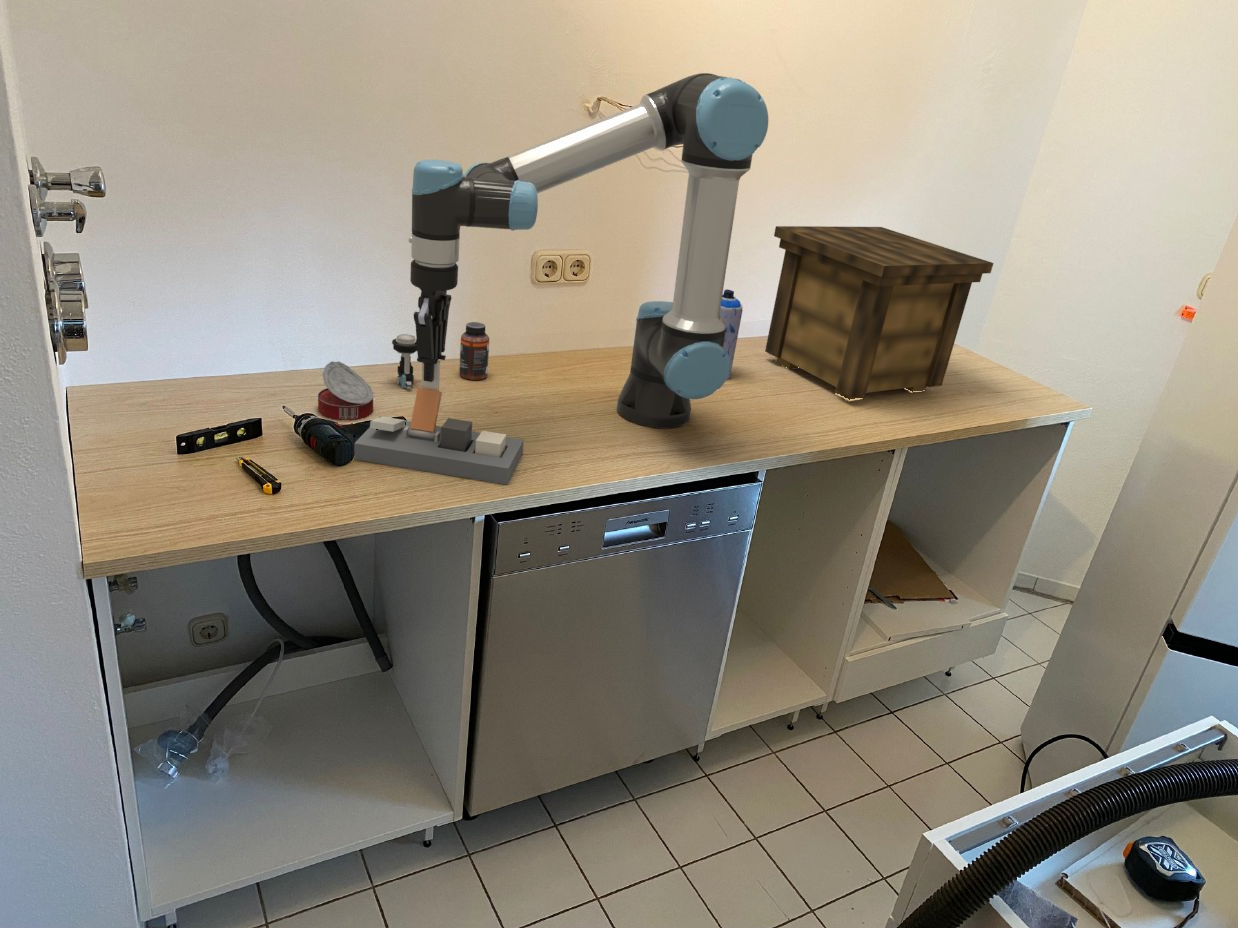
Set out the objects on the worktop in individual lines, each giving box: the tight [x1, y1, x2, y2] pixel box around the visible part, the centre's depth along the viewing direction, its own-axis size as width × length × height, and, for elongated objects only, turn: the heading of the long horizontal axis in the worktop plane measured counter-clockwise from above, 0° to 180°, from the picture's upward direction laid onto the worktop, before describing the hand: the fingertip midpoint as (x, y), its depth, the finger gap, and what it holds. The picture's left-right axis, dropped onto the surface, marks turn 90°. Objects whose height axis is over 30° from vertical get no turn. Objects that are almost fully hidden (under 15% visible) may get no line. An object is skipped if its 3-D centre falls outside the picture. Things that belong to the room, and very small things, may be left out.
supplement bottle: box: [458, 321, 490, 381], centre depth 190 cm, size 6×6×11 cm
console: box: [353, 416, 525, 485], centre depth 155 cm, size 26×12×4 cm, turn 83°
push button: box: [391, 333, 417, 390], centre depth 181 cm, size 7×5×10 cm
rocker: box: [369, 416, 406, 432], centre depth 155 cm, size 4×6×1 cm, turn 173°
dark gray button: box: [440, 417, 473, 452], centre depth 154 cm, size 4×4×4 cm
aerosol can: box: [720, 288, 743, 381], centre depth 208 cm, size 8×8×20 cm
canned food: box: [317, 360, 374, 422], centre depth 168 cm, size 11×10×10 cm
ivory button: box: [475, 430, 507, 458], centre depth 154 cm, size 4×4×4 cm
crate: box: [764, 225, 994, 400], centre depth 216 cm, size 35×35×33 cm
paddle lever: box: [408, 387, 443, 439], centre depth 155 cm, size 4×1×8 cm, turn 84°
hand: (430, 396), depth 157 cm, fingers closed
